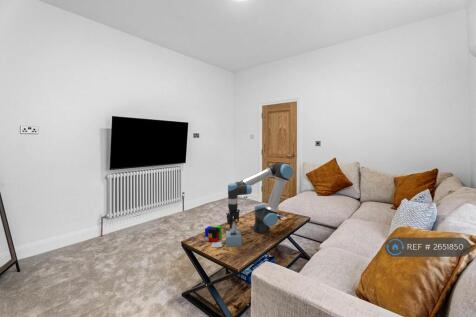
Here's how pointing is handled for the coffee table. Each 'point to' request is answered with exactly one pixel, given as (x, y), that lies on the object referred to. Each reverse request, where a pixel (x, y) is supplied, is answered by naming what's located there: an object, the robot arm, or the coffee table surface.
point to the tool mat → (216, 244)
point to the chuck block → (233, 239)
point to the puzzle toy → (213, 233)
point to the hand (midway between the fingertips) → (233, 231)
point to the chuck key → (234, 225)
